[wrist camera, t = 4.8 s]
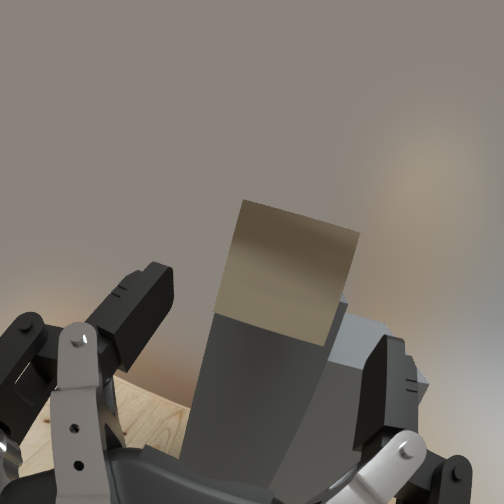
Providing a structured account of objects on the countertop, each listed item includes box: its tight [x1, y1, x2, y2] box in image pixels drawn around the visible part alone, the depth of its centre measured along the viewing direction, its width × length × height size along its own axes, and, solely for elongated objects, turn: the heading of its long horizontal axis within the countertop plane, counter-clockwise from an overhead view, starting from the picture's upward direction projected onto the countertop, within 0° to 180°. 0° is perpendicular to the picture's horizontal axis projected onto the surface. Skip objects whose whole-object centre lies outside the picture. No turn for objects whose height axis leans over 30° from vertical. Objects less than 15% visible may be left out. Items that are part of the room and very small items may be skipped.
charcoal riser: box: [179, 293, 429, 504], centre depth 28 cm, size 16×16×32 cm
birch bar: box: [213, 200, 360, 346], centre depth 22 cm, size 24×4×4 cm, turn 169°
